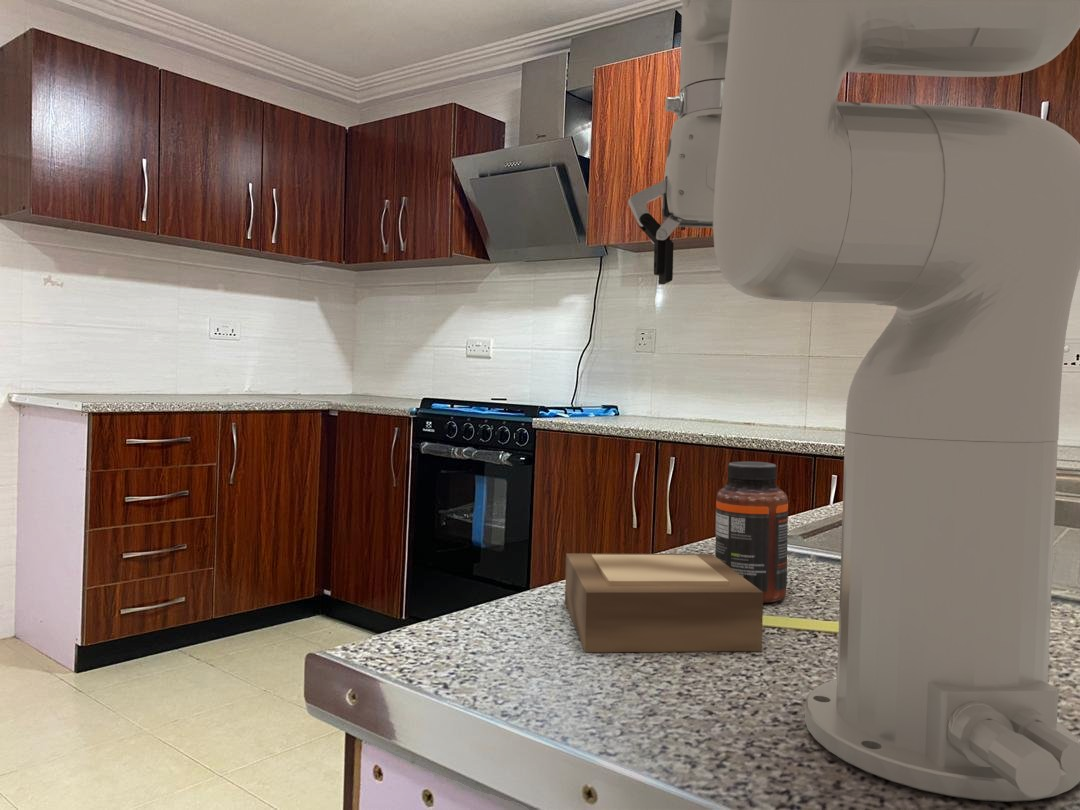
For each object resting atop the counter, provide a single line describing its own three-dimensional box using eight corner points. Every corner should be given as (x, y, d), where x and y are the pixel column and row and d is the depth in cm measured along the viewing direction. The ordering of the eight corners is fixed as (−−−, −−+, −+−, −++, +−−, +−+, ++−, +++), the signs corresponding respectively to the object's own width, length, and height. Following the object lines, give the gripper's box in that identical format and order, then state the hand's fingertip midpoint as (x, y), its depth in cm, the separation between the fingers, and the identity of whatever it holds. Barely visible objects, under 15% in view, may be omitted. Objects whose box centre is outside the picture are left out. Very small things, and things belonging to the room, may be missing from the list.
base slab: (761, 651, 55) (763, 587, 55) (585, 652, 54) (586, 588, 54) (710, 602, 67) (711, 550, 67) (564, 602, 66) (566, 549, 66)
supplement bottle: (779, 588, 72) (782, 460, 72) (793, 607, 66) (797, 468, 66) (710, 585, 73) (713, 458, 72) (718, 604, 67) (721, 465, 67)
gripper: (639, 94, 77) (634, 277, 78) (817, 103, 78) (811, 283, 79) (624, 119, 84) (620, 286, 85) (787, 126, 86) (782, 290, 86)
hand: (712, 284), depth 82 cm, fingers open, 9 cm apart
